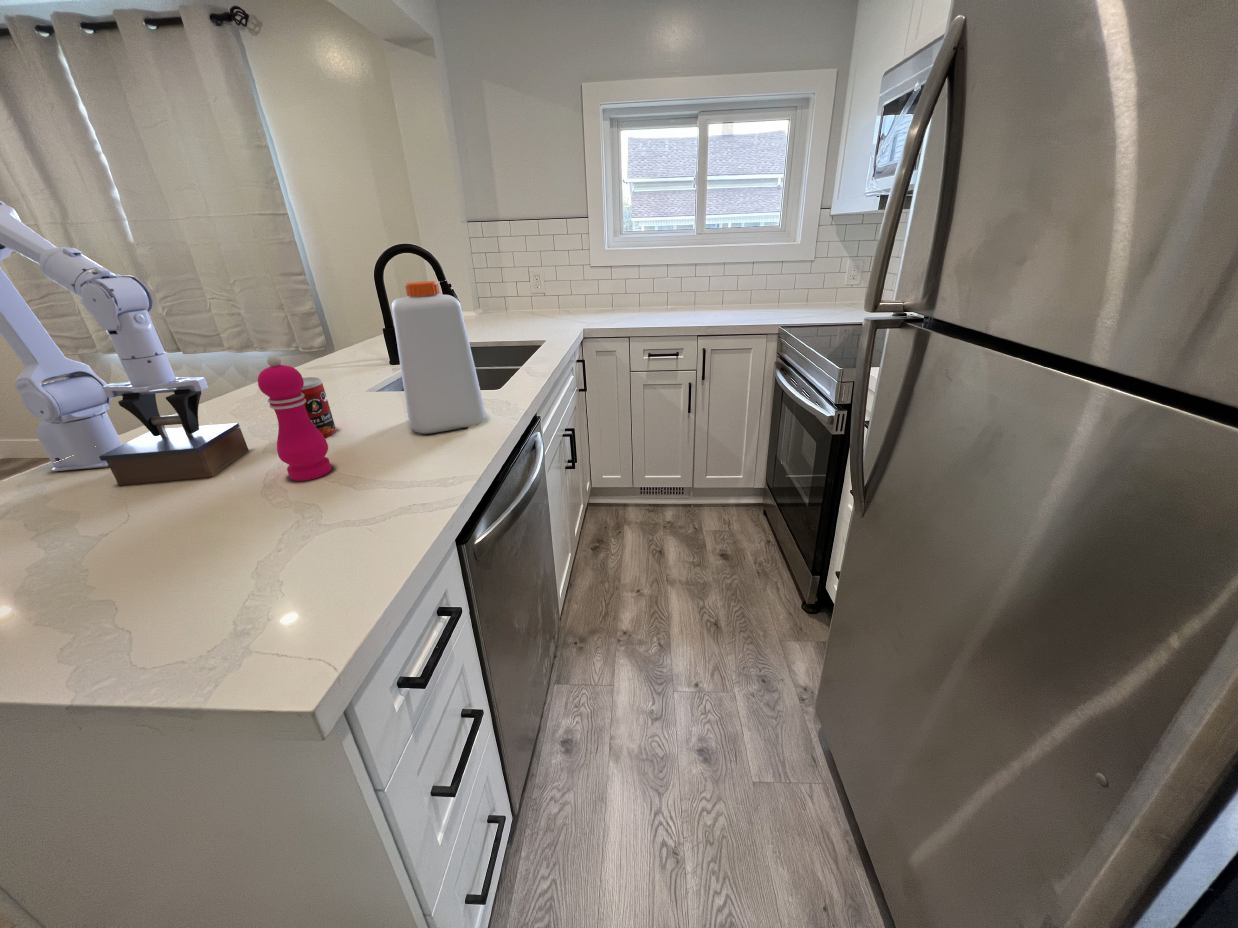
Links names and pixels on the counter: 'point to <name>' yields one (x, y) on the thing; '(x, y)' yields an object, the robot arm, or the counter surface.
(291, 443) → the pepper mill
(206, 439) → the lid
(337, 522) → the counter surface
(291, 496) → the counter surface
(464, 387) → the plastic bottle
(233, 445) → the chest
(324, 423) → the canned food
